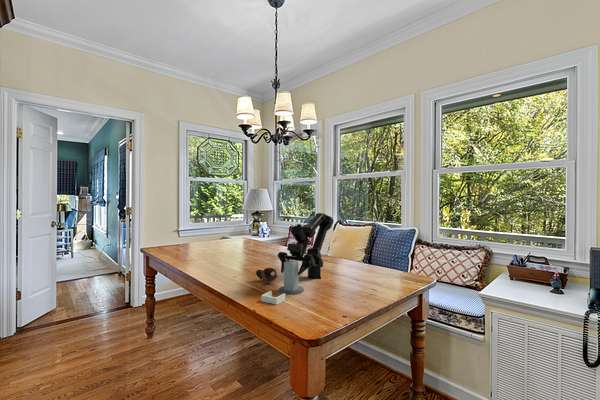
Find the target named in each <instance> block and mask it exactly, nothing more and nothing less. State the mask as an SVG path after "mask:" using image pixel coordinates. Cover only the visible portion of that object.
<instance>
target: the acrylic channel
mask: <svg viewBox="0 0 600 400" xmlns="http://www.w3.org/2000/svg"><path fill="white" fill-rule="evenodd" d="M260 299H261V302H263V303H268V304H273V305H278V304H280V303H282V302H283V301H285V300H286V294H285V293H281V294H280V295H279V296H278V295H277V296H276V297H275V296H273V291H272V290H269V291H267V292H266V293H263V294H262V295H261V297H260Z"/></svg>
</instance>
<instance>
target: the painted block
mask: <svg viewBox="0 0 600 400" xmlns="http://www.w3.org/2000/svg"><path fill="white" fill-rule="evenodd" d="M298 272H299V261H296V260H289V261H286V262H284V272H283V286H284V290H288V291H295V290H296V289H298V286H299V275H298Z"/></svg>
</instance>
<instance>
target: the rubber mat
mask: <svg viewBox="0 0 600 400" xmlns="http://www.w3.org/2000/svg"><path fill="white" fill-rule="evenodd" d="M304 291H305V288H304V287H303V286H301V285H298V289H296V290H295V291H288V290H284V285H283V286H280V287H279V288H278V292H279V293H280V294H283V293H285V295H298V294H302V293H304Z"/></svg>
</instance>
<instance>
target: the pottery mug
mask: <svg viewBox="0 0 600 400" xmlns="http://www.w3.org/2000/svg"><path fill="white" fill-rule="evenodd" d="M273 272H274V274H273V275H272V273H273ZM277 273H278V272H277V270H276V269H275V268H273V267H265V268H263V270H262V269H257V270H256V271H255V274H256V276H257V277H258V278H259V280H260V281H261V280H263V282H262V283H263V284H265V285H266V284H267V283H270V282H273V281H275V280H276V279H277V278H278V274H277Z"/></svg>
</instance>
